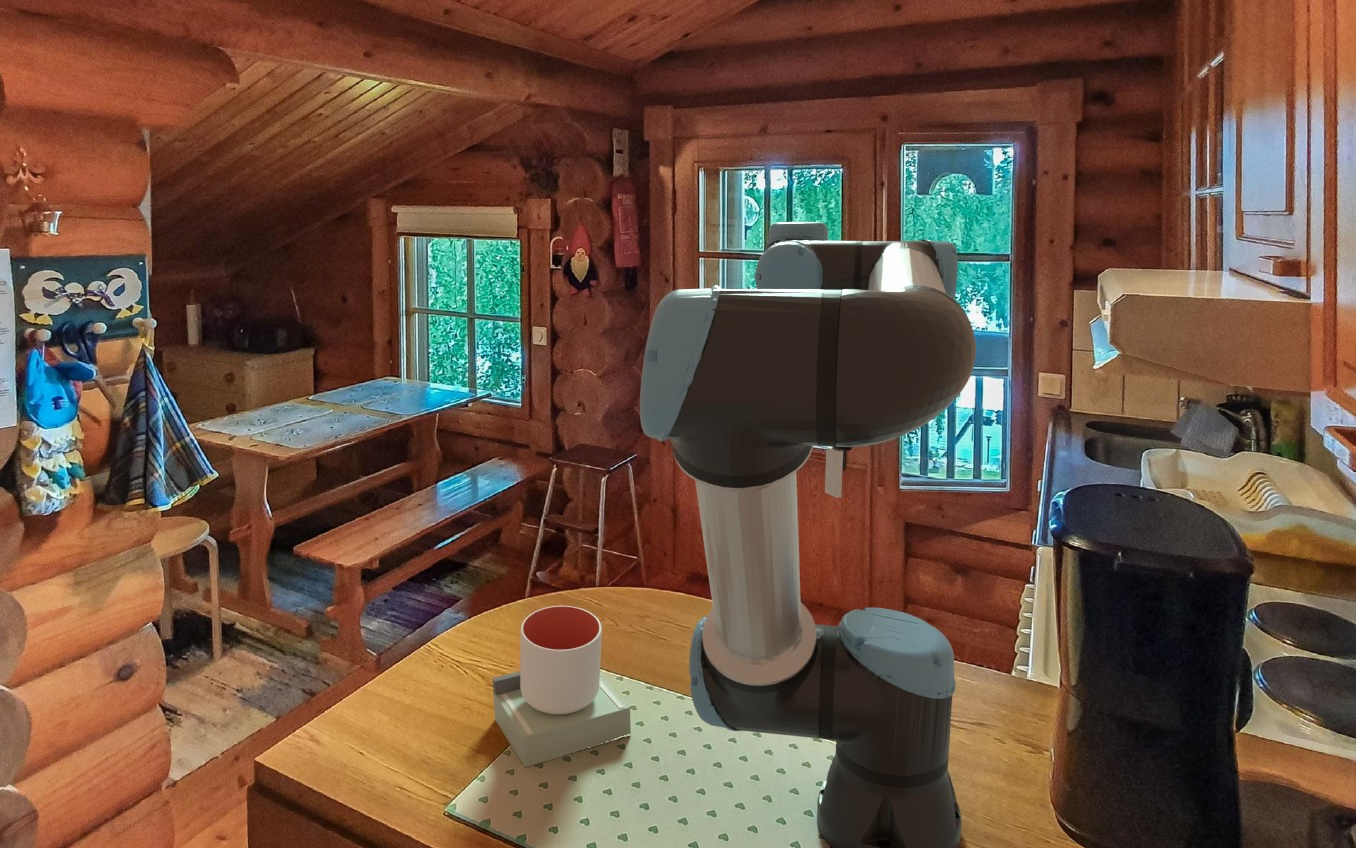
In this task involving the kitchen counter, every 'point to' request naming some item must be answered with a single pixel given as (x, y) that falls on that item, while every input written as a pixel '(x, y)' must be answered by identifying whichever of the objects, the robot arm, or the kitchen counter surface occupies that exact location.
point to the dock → (556, 722)
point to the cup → (560, 659)
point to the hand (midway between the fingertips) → (792, 502)
